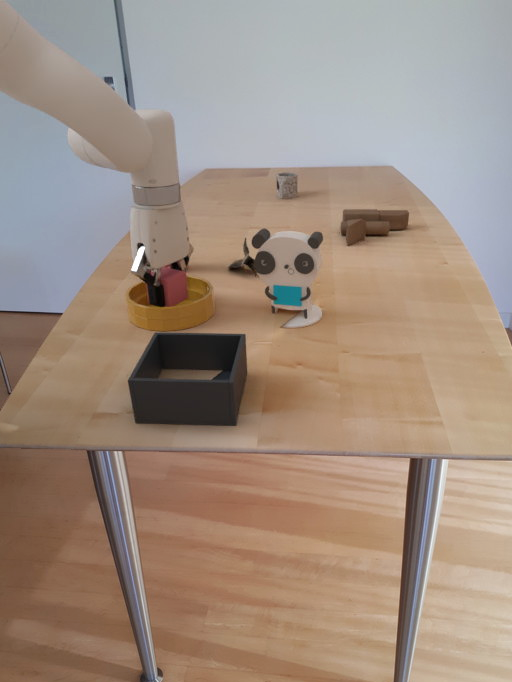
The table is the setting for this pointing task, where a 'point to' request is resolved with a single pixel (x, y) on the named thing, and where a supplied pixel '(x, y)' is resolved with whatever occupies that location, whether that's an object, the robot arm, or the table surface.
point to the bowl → (173, 317)
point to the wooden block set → (371, 222)
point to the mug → (287, 185)
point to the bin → (190, 394)
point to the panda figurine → (289, 272)
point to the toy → (173, 286)
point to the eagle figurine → (245, 259)
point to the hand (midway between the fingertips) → (168, 298)
